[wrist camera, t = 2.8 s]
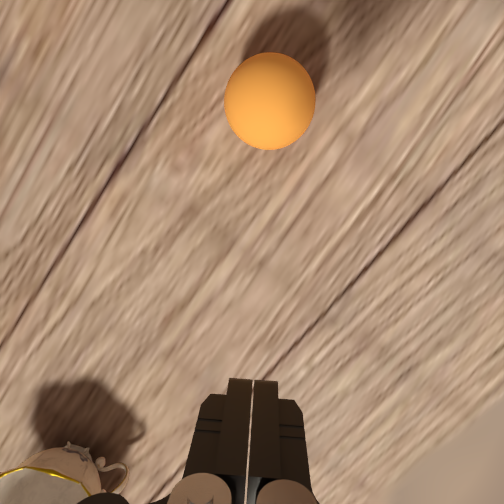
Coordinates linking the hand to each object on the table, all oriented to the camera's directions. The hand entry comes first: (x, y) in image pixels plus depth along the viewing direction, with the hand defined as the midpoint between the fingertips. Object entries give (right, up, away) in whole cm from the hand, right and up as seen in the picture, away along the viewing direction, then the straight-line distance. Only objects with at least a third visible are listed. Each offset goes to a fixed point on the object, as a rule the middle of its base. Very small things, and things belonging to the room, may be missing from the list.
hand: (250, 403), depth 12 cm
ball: (+1, +13, +9) cm, 16 cm away
